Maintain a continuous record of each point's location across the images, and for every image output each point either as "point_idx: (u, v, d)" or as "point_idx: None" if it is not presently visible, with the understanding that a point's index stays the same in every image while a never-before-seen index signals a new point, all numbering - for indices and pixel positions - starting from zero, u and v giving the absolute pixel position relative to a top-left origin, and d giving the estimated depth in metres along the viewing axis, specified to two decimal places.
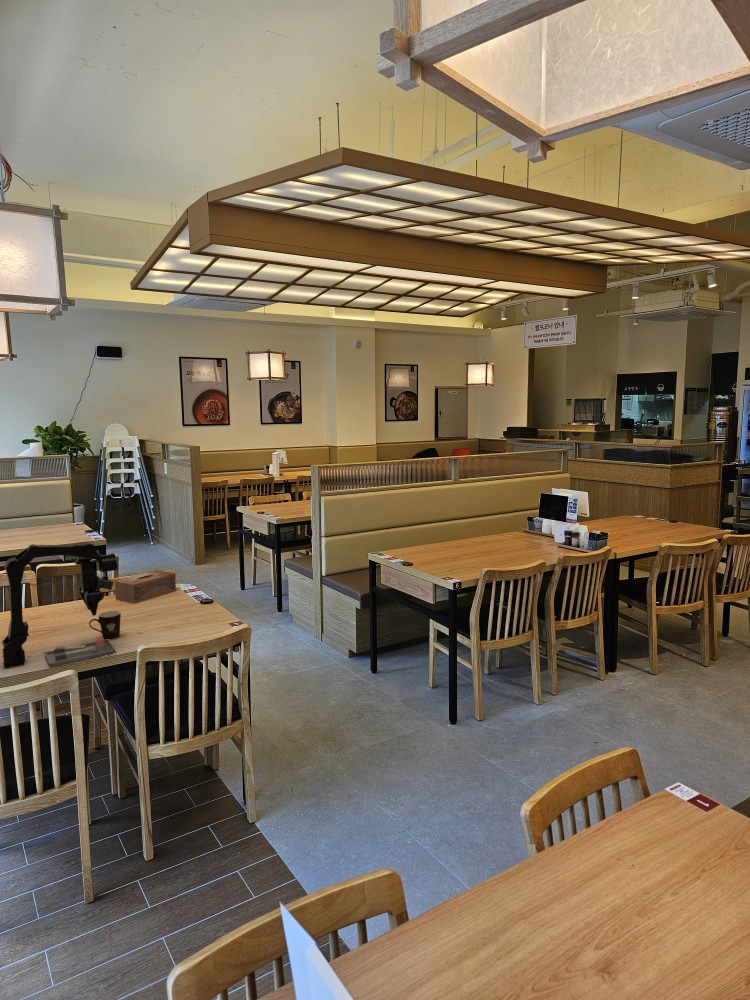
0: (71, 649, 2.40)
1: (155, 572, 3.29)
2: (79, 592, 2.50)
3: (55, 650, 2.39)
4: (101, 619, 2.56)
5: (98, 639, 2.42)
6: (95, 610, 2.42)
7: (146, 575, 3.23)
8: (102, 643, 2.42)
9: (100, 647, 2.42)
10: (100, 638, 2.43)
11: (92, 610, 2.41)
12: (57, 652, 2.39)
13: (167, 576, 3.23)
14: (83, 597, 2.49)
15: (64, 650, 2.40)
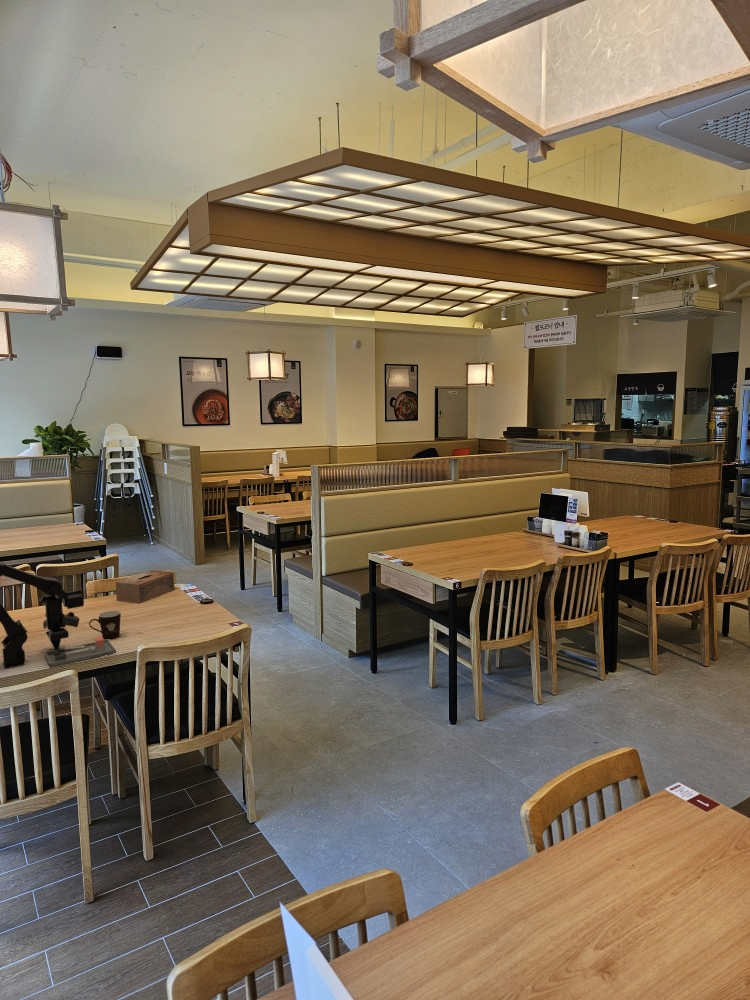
0: (71, 649, 2.40)
1: (152, 572, 3.29)
2: (46, 632, 2.41)
3: (55, 650, 2.39)
4: (101, 619, 2.56)
5: (98, 639, 2.42)
6: (58, 645, 2.41)
7: (145, 575, 3.23)
8: (102, 643, 2.42)
9: (100, 647, 2.42)
10: (100, 638, 2.43)
11: (55, 645, 2.40)
12: (57, 652, 2.39)
13: (167, 575, 3.25)
14: None
15: (64, 650, 2.39)
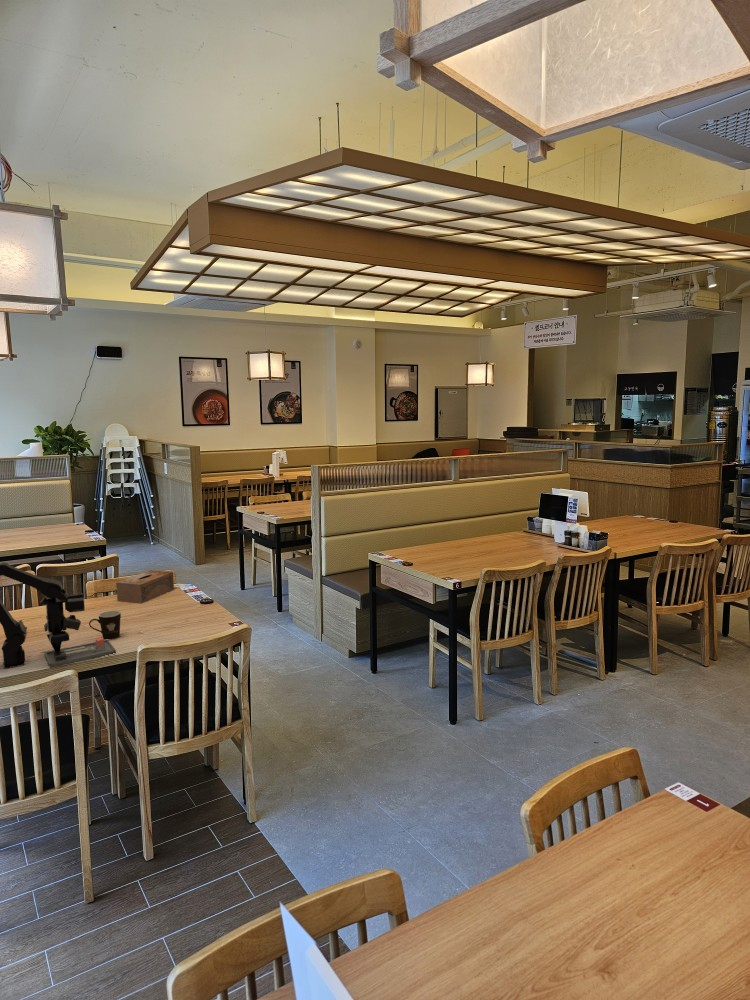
0: None
1: (151, 572, 3.29)
2: (47, 635, 2.38)
3: None
4: (101, 619, 2.56)
5: (98, 639, 2.42)
6: (58, 648, 2.38)
7: (144, 575, 3.23)
8: (102, 643, 2.42)
9: (100, 647, 2.42)
10: (100, 638, 2.43)
11: (55, 648, 2.37)
12: None
13: (167, 575, 3.25)
14: None
15: None
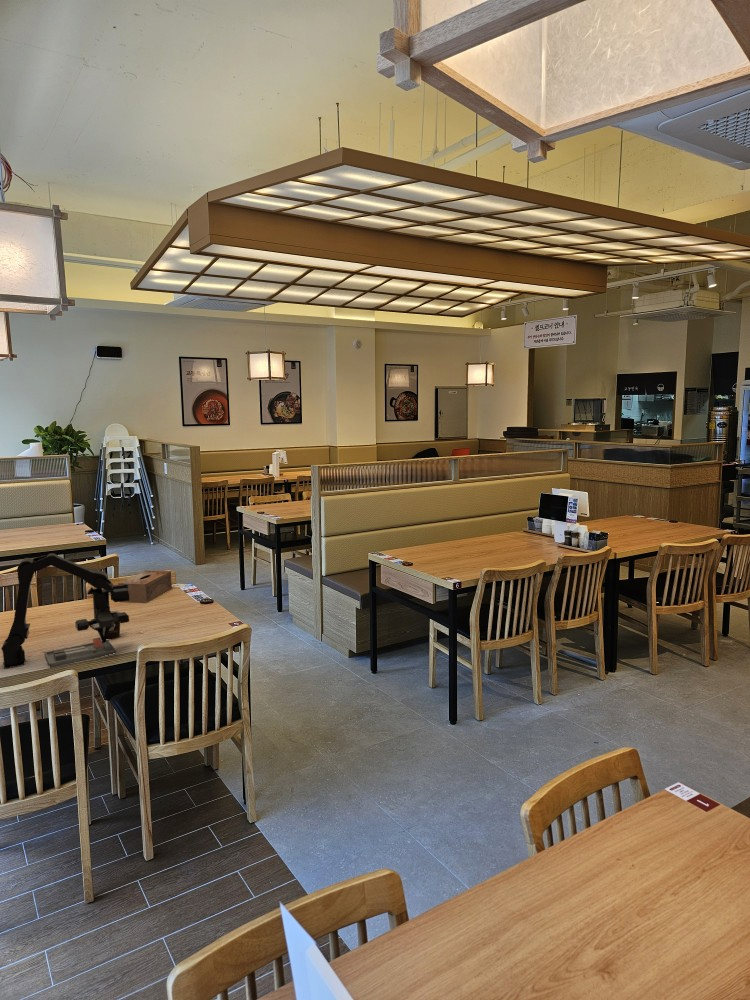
0: None
1: (148, 572, 3.29)
2: None
3: None
4: None
5: (95, 640, 2.42)
6: (101, 638, 2.43)
7: (143, 575, 3.23)
8: (99, 644, 2.42)
9: (100, 647, 2.42)
10: (97, 638, 2.43)
11: (100, 636, 2.44)
12: None
13: (166, 574, 3.27)
14: (103, 627, 2.45)
15: None
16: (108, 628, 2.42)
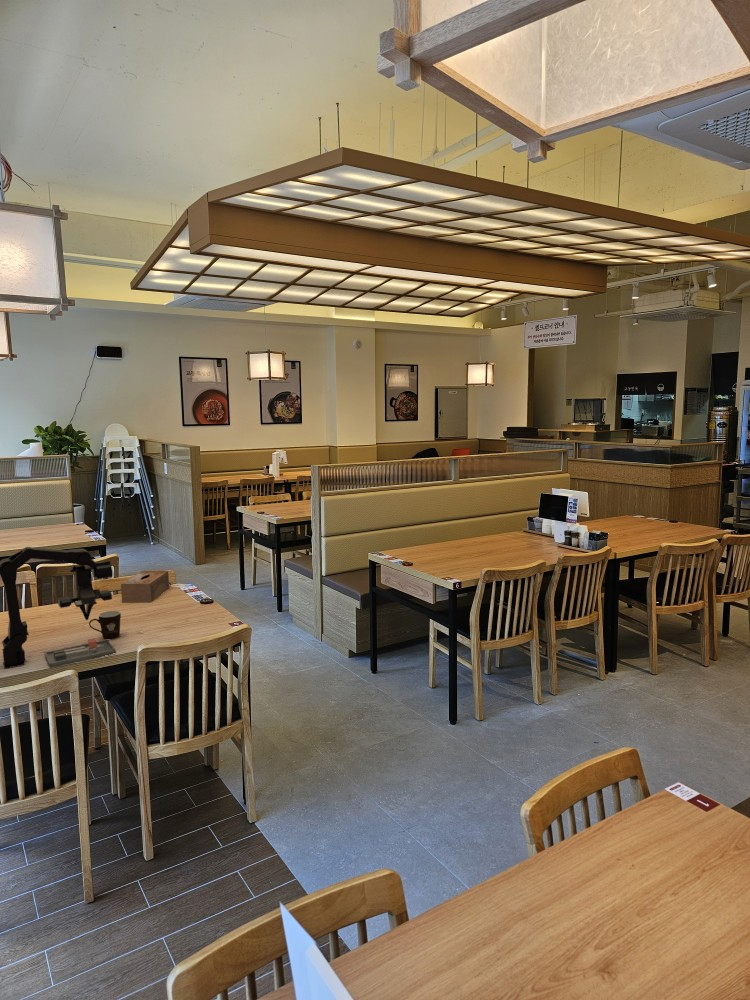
0: None
1: (145, 572, 3.29)
2: None
3: None
4: (101, 619, 2.56)
5: (91, 640, 2.41)
6: None
7: (143, 575, 3.22)
8: (95, 645, 2.41)
9: (100, 647, 2.42)
10: (93, 639, 2.42)
11: (83, 613, 2.45)
12: None
13: (164, 574, 3.28)
14: (86, 605, 2.47)
15: None
16: (91, 605, 2.44)
